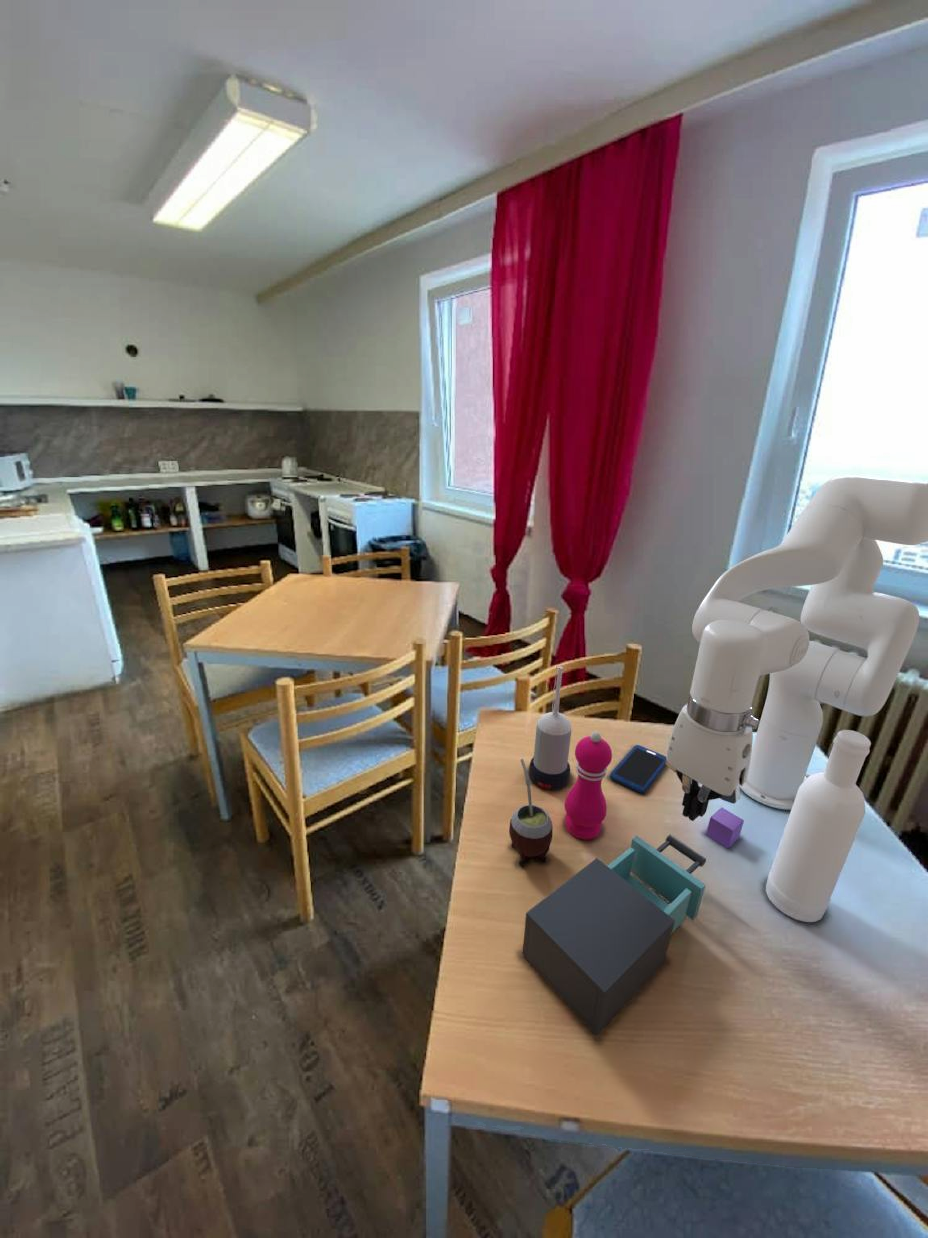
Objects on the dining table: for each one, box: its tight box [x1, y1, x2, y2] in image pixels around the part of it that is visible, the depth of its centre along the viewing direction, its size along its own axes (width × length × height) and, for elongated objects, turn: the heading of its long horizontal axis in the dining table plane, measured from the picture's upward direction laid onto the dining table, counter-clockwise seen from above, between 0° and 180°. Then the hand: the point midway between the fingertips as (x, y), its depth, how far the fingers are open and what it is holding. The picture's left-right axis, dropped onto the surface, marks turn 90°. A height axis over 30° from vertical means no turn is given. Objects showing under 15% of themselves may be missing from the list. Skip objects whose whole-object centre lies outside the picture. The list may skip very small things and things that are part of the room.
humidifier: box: [528, 665, 572, 791], centre depth 100 cm, size 8×8×25 cm
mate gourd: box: [508, 758, 554, 867], centre depth 84 cm, size 8×8×15 cm
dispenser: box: [521, 857, 675, 1037], centre depth 69 cm, size 15×13×8 cm
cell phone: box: [609, 744, 667, 794], centre depth 107 cm, size 7×14×1 cm, turn 140°
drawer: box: [607, 834, 707, 934], centre depth 76 cm, size 19×11×6 cm, turn 129°
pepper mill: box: [564, 731, 613, 841], centre depth 89 cm, size 7×7×20 cm
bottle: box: [765, 729, 872, 923], centre depth 74 cm, size 8×8×30 cm
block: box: [705, 806, 745, 849], centre depth 90 cm, size 4×4×4 cm
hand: (692, 813), depth 78 cm, fingers closed
